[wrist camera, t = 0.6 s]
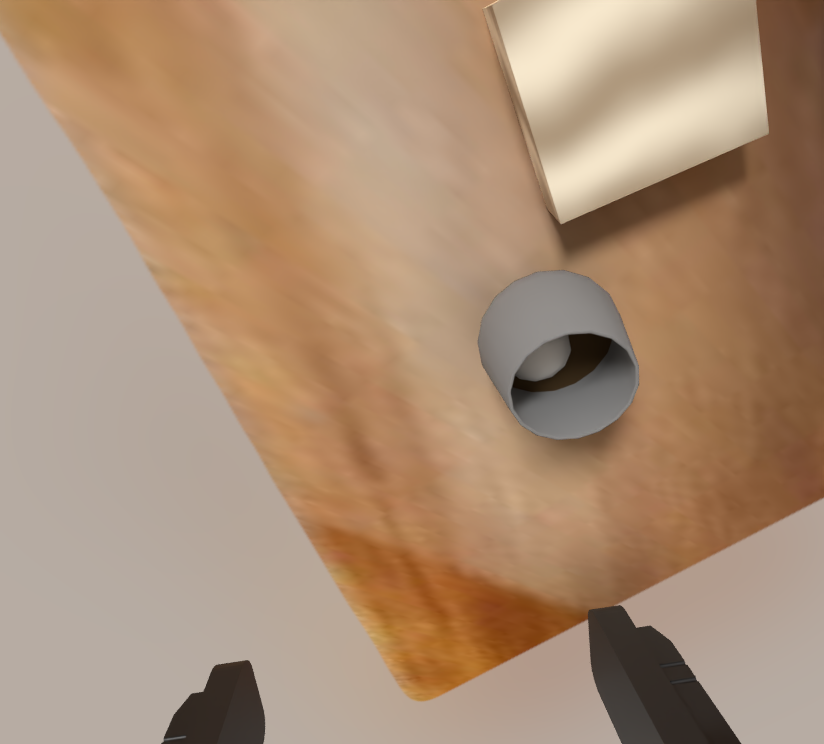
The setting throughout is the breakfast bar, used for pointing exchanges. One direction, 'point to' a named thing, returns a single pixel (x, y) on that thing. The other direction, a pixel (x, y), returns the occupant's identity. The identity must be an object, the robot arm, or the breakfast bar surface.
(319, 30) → the breakfast bar surface
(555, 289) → the cup
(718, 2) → the birch block
